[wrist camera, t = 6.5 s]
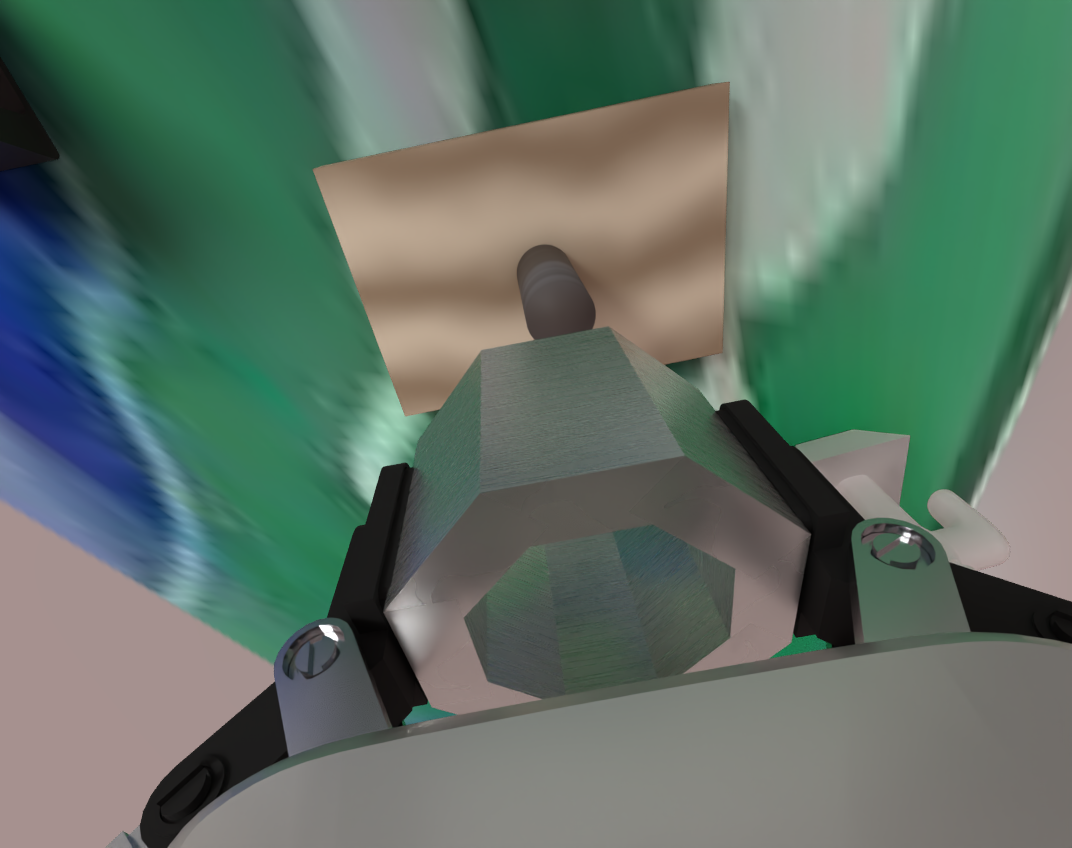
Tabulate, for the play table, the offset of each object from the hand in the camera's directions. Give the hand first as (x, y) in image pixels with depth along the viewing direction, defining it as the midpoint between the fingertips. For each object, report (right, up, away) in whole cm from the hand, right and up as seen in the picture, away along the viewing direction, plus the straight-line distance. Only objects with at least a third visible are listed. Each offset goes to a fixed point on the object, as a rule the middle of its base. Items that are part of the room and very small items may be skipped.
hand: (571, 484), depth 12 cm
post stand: (-1, +11, +17) cm, 20 cm away
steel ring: (0, +1, +1) cm, 1 cm away
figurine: (+21, -1, +27) cm, 34 cm away
